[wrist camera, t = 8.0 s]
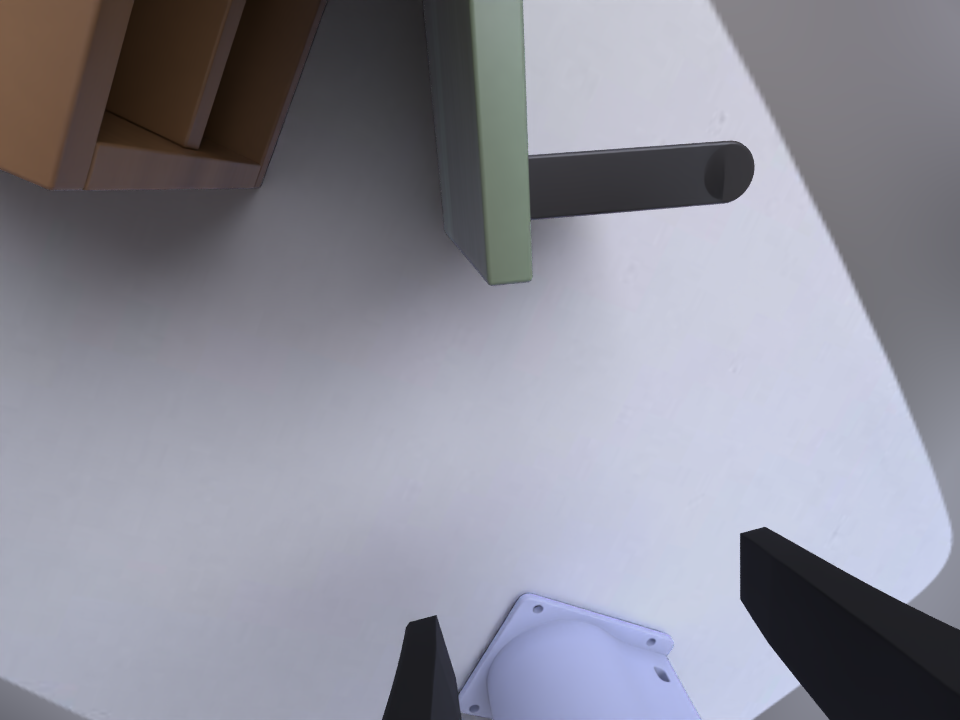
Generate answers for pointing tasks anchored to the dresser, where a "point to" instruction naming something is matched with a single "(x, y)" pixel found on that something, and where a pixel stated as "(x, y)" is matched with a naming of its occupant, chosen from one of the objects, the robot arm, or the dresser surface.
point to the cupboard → (148, 90)
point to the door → (544, 177)
